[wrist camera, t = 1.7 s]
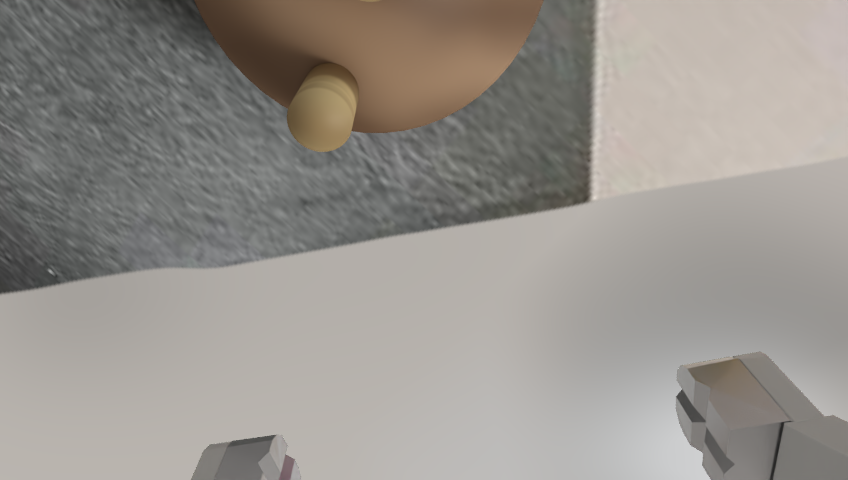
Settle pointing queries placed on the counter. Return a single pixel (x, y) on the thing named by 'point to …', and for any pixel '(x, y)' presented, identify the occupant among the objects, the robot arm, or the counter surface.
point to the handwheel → (369, 58)
